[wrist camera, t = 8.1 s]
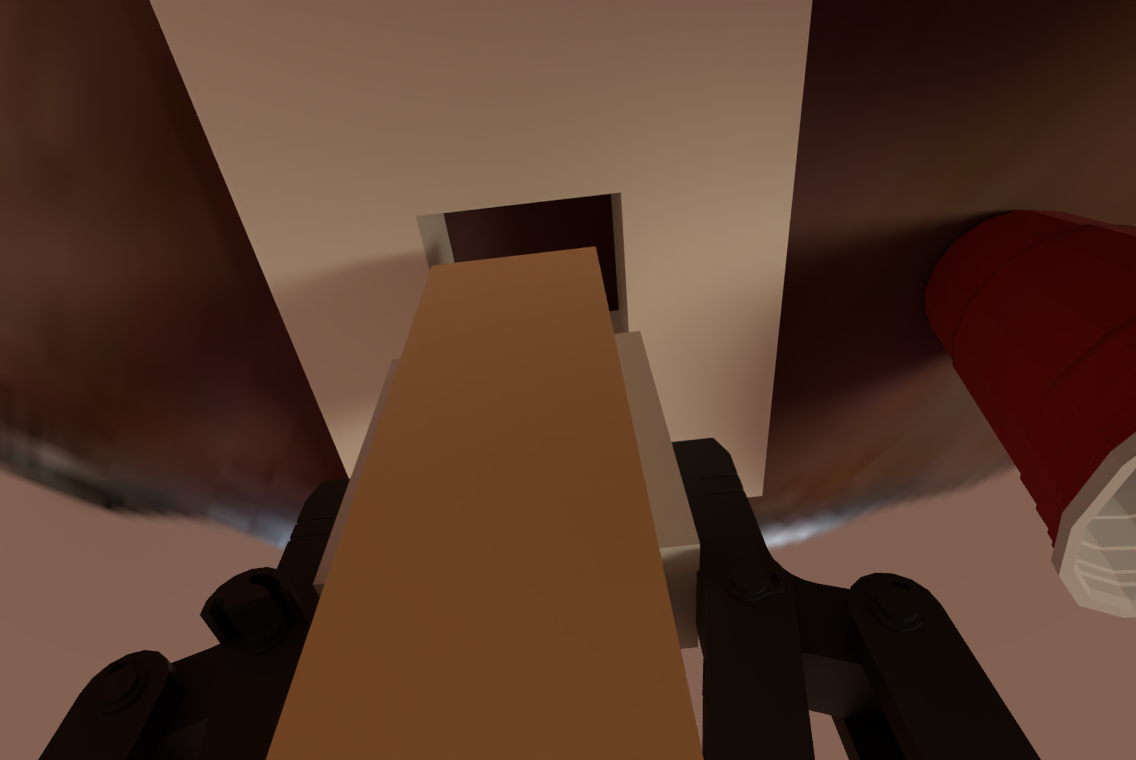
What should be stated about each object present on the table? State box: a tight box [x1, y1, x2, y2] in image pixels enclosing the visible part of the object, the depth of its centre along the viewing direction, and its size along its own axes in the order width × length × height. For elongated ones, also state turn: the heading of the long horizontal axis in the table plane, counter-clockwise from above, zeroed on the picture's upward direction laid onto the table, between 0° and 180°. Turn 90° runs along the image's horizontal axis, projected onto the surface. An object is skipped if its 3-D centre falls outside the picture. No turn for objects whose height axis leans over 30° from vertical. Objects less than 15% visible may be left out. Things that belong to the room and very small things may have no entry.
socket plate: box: [150, 0, 812, 497], centre depth 21 cm, size 16×20×4 cm
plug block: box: [266, 246, 704, 760], centre depth 12 cm, size 4×4×15 cm
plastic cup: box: [925, 210, 1136, 618], centre depth 20 cm, size 11×11×12 cm
